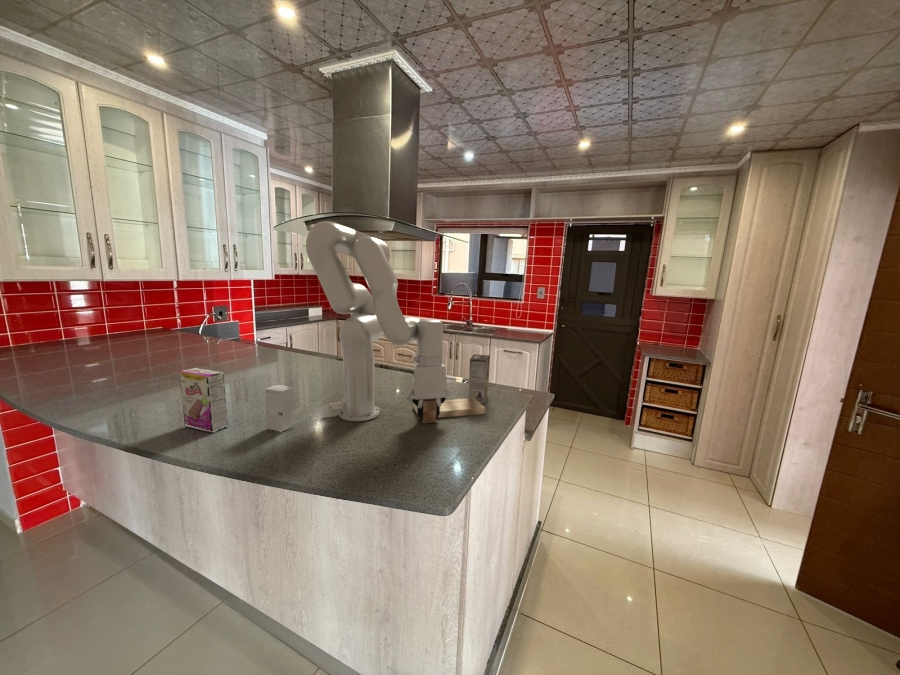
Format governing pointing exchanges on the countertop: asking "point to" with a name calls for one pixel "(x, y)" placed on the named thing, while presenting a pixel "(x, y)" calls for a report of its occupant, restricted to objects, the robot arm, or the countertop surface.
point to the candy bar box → (203, 398)
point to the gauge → (429, 410)
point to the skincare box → (279, 407)
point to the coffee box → (479, 377)
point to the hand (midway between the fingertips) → (428, 417)
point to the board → (459, 407)
